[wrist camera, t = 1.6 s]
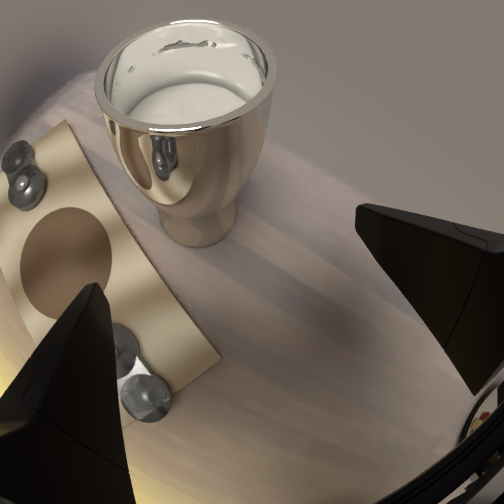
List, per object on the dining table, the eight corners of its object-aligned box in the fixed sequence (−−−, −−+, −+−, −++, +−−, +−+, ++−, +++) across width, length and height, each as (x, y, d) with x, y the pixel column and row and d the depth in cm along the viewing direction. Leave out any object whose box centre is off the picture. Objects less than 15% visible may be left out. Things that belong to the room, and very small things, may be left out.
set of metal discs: (185, 399, 19) (182, 406, 17) (144, 426, 18) (139, 435, 16) (31, 138, 21) (24, 129, 20) (3, 163, 21) (-6, 155, 19)
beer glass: (234, 261, 22) (272, 155, 8) (145, 245, 22) (56, 131, 7) (248, 179, 24) (289, 27, 10) (166, 166, 24) (133, 14, 9)
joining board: (221, 357, 21) (222, 358, 20) (106, 437, 18) (102, 441, 17) (68, 124, 23) (64, 118, 22) (-16, 197, 20) (-21, 193, 19)
